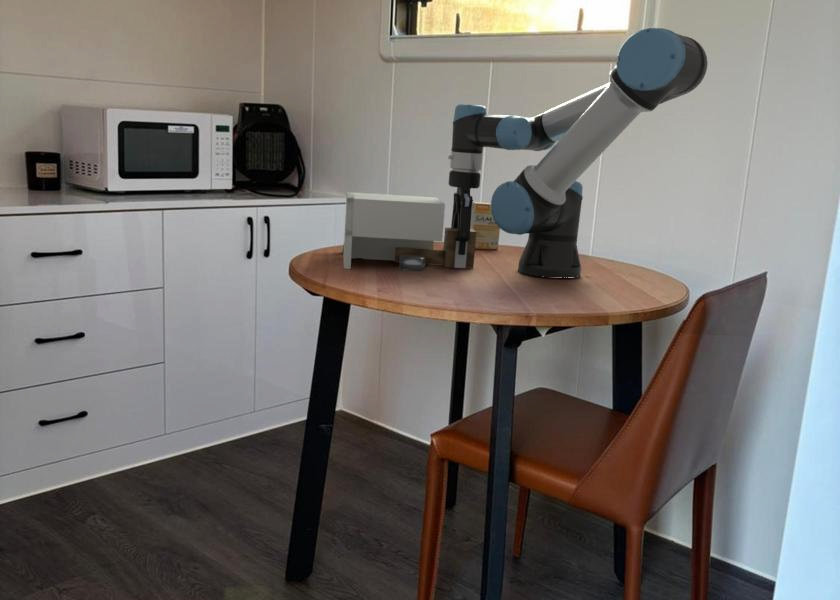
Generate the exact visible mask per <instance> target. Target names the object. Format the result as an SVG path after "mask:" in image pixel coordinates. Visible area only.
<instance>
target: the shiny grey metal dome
mask: <svg viewBox="0 0 840 600" xmlns="http://www.w3.org/2000/svg"><path fill="white" fill-rule="evenodd" d="M398 263H399V264H398V265H399V266H398V268H399V269H400V270H403V271H408V272H409V271H410V272H421V271H425V269H426V267H425V266H426V264H425V257H424V256H420V255H411V254H405V255H400V262H398Z"/></svg>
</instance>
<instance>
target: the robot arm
mask: <svg viewBox="0 0 840 600" xmlns="http://www.w3.org/2000/svg"><path fill="white" fill-rule="evenodd" d="M706 53H707V52H706V51H705V49H704V48H703V46H702V45H701V43H699V42H698V41H697V40H696V39H693V38H692V37H689V36H686V35H681V34H679V33H676V32H675V31H672V30H669V29H666V28H662V27H660V28H659V27H658V28H657V27H656V28H655V27H649V28H643V29H640V30H638V31H636V32H634V33H633V34H632V35H630V36H629V37H628V38H627V39H625V41H624V43H623V44H622V45H621V47H620V48H619V50H618V53H617V56H616V57H617V62H616V65H615V66H614V67H613V68H612V69H611V70H610V72H609V82H608V83H606V84H603V85H602V86H599V87H597V88H594V89H593V90H590V91H587V92H586V93H583V94H581V95H579V96H577V97H575V98H572V99H571V100H569V101H566V102H563V103H562V104H559V105H557V106H555V107H552V108H550V109H549V110H546V111H544V112H543V113H540V114H537V115H535V116H533V117H525V116H518V115H511V114H510V115H505V114H504V115H503V114H487V107H486V106H484V105H480V104H479V105H478V104H465V103H462V104H461V103H460V104H457V105H456V106H455V108H454V115H453V121H452V140H451V143H452V144H451V153H450V154H451V155H450V154H449V155H448V156H447V157H448V159H447V160H450V163H449V164H450V165H449V167H450V168H451V169H452V170H450V171H449V173H448V185H449V187H452V188H456V192H453V205H452V216H451V224H450V228H458V236H457V238H455V239H454V241H456V249H455V261H454V267H453V268H456V269H467V268H466V256H467V245H468V240H469V239H470V226H471V211H472V202H474V198H473V196H472V195H471V190H472V189H479V188H480V185H481V175H482V174H481V173H480V172H479V171H481V170H482V164H483V155H484V154H483V153H484V152H483V151H484V148H493V149H502V150H507V151H520V150H523V151H533V152H540V151H547V150H549V149H550V150H549V151H548V152H547V153H546V154H545V156H544V157H543V158H542V159H541V160H540V161H539V162H538V163H537V164H536V165H527V166H526V167H525V168H524V169H523V170H522V171H521V172H519V175H518V176H517V177H516V178H515V179H514V180H509V181H505V182H503V183H501V184H500V185H498V186H497V187H496V189H495V190H494V191H493V194H492V197H491V199H490V200H491V201H490V203H491V206H492V210H491V212H492V216H493V219H494V221H495V222H496V224H497V225H498V227H499V228H500V230H501V231H503V232H505V233H506V234H509V235H510V234H511V235H518V236H521V235H524V234H528V240H527V242H526V243H525V246H524V249H523V251H522V252H521V253H522V254H521V256H520V258H519V260H518V268H517V271H518V272H520V273H522V274H525V275H528V274H529V276H533V275H535V276H534V277H538V276H544V277H543V278H546V277H562V278H564V277H565V278H566V277H567V278H568V277H577V276H580V277H581V274H582V273H581V272H582V264H581V260H580V254H579V250H578V236H579V235H578V234H579V227H580V219H581V218H580V217H581V210H582V202H583V198H584V197H583V184H582V183H581V182H579V181H578V179H579V178H580V177H581V176H582V175H583V173H585V172H586V171H587V169H589V168H590V166H592V164H593V163H594V162H595V161H596V160H598V158H599V156H601V155H602V154H603V153H604V152H605V150H606V149H607V148H608V147H610V145H611V144H612V143H613V142H614V141H615V140H616V139H617V138H618V137H619V136H620V135H621V133H623V131H625V129H626V128H627V127H629V126H630V124H631V123H633V121H634V120H635V119H636V118H637V117H638V116H639V115H640V113H645V112H647V113H648V112H653V111H654V110H656V108H657V107H658V106H659V105H661V104H664V103H666V102H669V101H671V100H674V99H677V98H679V97H682V96H685V95H686V94H689V93H690V92H692V91H695V89H696V88H697V87H699V86H700V84H701V83H702V82H703V80H704V77H705V75H706V73H707V70H708V56H707V54H706Z"/></svg>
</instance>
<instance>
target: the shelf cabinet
mask: <svg viewBox="0 0 840 600" xmlns="http://www.w3.org/2000/svg"><path fill="white" fill-rule="evenodd" d="M445 208H446V203H445V202H443V201H442V200H440V199H439V198H438V197H435V196H432V197H430V196H419V195H401V194H400V195H398V194H386V193H385V194H384V193H369V192H366V193H365V192H351V191H346V198H345V219H344V233H343V234H344V235H343V236H344V237H343V240H344V241H343V245H344V254H343V253H342V254H343V255H342V256H343V269H345V270H351V269H352V267H351V265H352V259H356V258H363V259H362V260H377V261H379V260H380V261H394V262H395V252H396V247H398V248H416V249H434V245H435V244H434V243H435V242H443V238H444V237H443V234H444V225H445V223H444V221H445V210H446V209H445Z"/></svg>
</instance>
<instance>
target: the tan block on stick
mask: <svg viewBox="0 0 840 600" xmlns="http://www.w3.org/2000/svg"><path fill="white" fill-rule="evenodd" d="M476 233H477V232H476V231H475V230H474V229H470V239H469V240H468V245H467V256H466V268H465V269H474V266H475V257H476V256H475V254H476V253H475V252H476V249H475V244H476ZM457 236H458V228H451V227H444V237H443V247H442V248H443V249H434V248H433V249H416V248H398V247H396V252H395V261H394V262H395V263H399V262H400V255H405V254H411V255H420V256H424V257H425V265H441V266H442V265H443V266H444V268H454V261H455V249H456V241H454V239H455V238H457Z"/></svg>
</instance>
